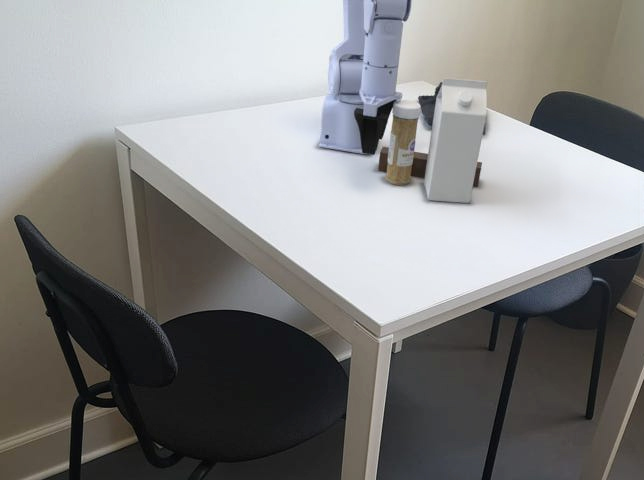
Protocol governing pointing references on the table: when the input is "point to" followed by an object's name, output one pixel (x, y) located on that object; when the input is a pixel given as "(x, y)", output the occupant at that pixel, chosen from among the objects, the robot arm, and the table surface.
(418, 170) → the walnut rail
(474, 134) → the milk carton
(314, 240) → the table surface
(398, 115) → the sprinkles bottle
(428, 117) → the dark slate chunk
